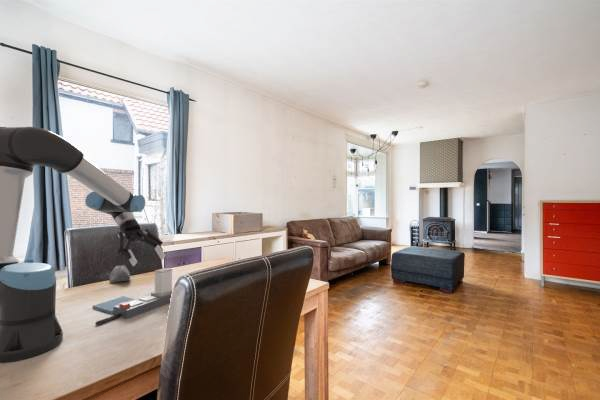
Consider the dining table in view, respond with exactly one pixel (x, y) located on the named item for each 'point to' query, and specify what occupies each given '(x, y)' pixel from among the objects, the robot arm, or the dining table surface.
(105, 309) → the mat
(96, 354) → the dining table surface
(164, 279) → the block
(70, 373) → the dining table surface
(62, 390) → the dining table surface
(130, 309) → the power strip
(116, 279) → the stone
